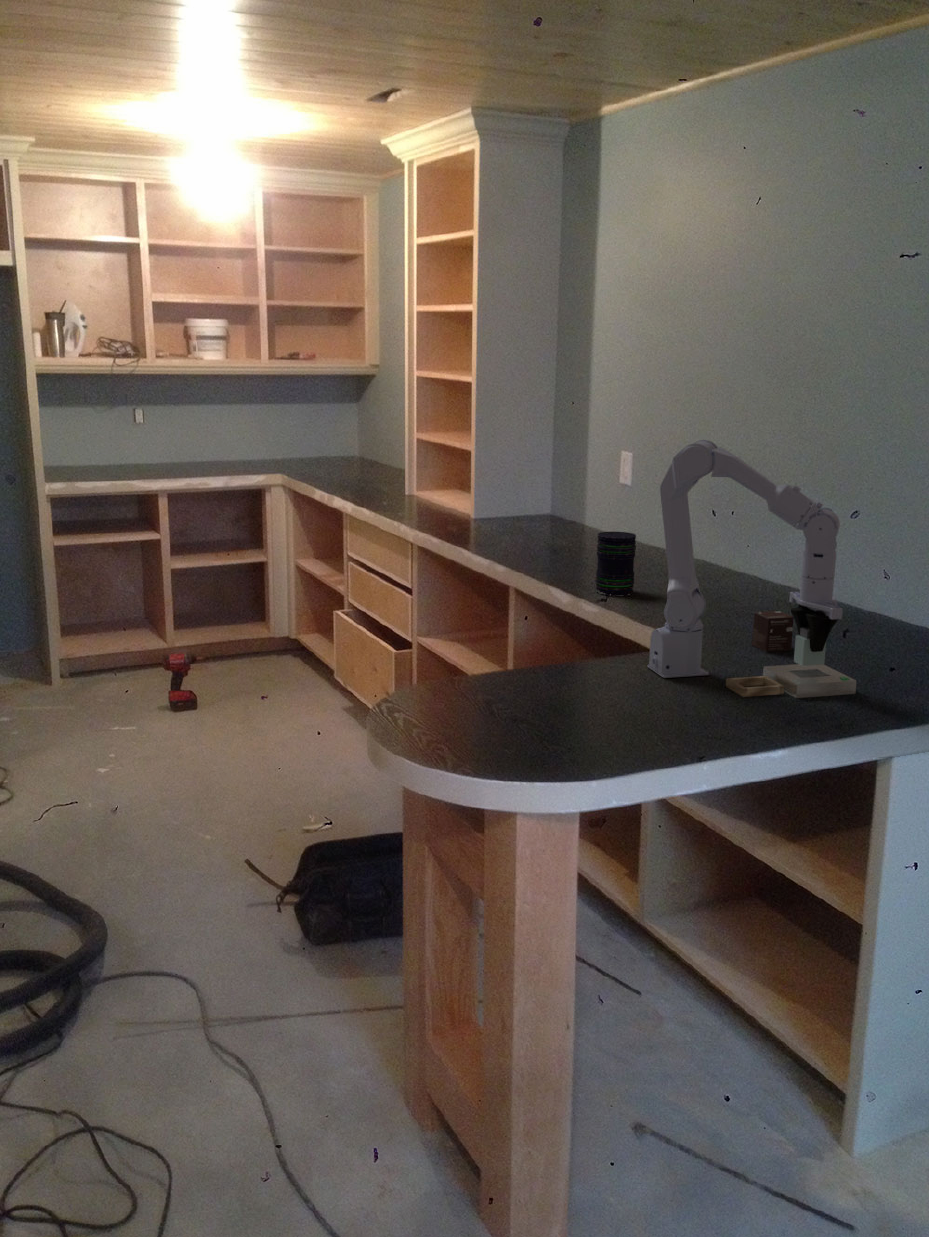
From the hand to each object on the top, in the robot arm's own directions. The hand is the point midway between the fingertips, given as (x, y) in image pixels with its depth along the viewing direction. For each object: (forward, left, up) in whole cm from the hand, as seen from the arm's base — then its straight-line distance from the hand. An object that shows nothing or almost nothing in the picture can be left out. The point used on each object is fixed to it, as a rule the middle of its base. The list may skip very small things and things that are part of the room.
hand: (811, 648), depth 203 cm
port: (0, 0, -7) cm, 7 cm away
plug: (0, 0, -3) cm, 3 cm away
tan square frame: (-11, 0, -7) cm, 13 cm away
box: (+7, +26, -8) cm, 28 cm away
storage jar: (-5, +84, -8) cm, 84 cm away
